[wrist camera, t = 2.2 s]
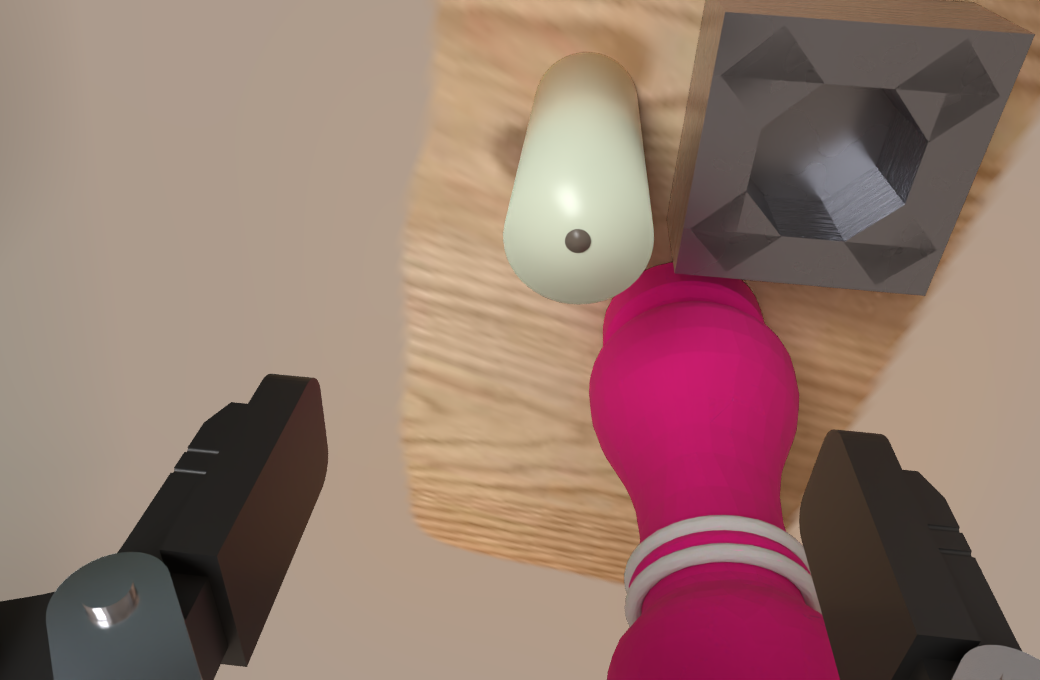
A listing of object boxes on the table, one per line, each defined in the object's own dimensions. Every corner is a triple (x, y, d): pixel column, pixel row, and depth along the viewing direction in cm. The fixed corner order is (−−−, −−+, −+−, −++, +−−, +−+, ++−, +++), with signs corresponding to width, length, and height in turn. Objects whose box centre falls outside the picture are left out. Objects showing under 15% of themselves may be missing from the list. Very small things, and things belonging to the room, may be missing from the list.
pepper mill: (812, 294, 29) (1072, 907, 13) (709, 419, 33) (809, 1008, 17) (646, 217, 28) (704, 786, 12) (561, 356, 32) (514, 926, 16)
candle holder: (708, -17, 23) (725, 11, 20) (974, 2, 23) (1035, 34, 20) (666, 219, 28) (674, 273, 25) (887, 238, 28) (924, 295, 24)
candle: (514, 88, 26) (474, 217, 18) (605, 30, 24) (606, 141, 16) (568, 172, 27) (553, 327, 19) (655, 122, 26) (680, 265, 18)
